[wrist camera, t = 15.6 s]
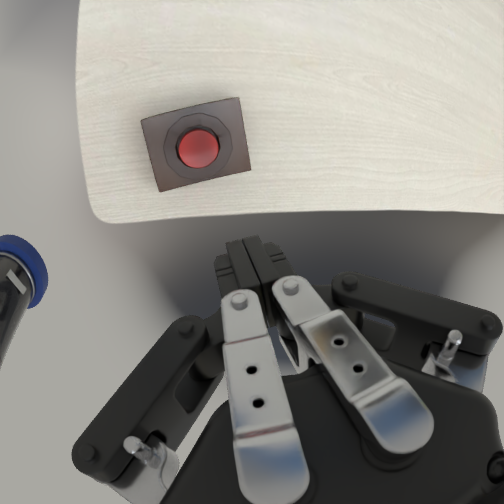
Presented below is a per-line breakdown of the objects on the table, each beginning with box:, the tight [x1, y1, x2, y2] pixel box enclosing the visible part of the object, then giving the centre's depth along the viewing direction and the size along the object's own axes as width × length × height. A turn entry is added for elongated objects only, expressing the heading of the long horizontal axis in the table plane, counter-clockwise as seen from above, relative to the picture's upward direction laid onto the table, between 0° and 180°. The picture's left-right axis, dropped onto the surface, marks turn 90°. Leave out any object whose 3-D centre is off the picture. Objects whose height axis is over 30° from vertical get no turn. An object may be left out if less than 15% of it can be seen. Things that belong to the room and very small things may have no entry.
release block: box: [141, 97, 251, 192], centre depth 27 cm, size 10×8×4 cm
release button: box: [179, 129, 218, 168], centre depth 25 cm, size 4×4×2 cm
